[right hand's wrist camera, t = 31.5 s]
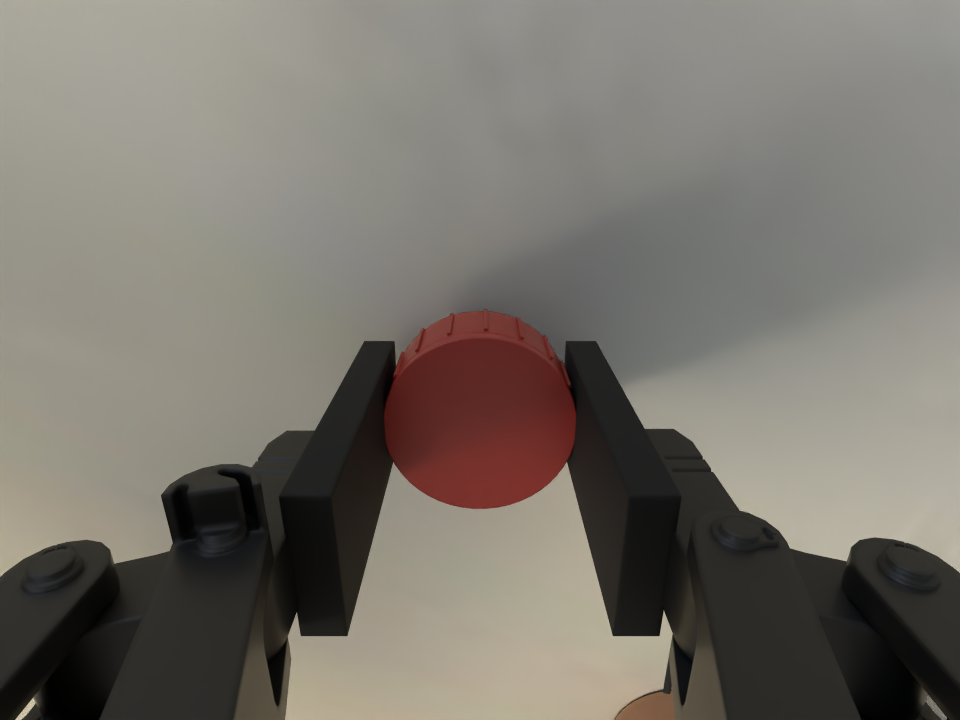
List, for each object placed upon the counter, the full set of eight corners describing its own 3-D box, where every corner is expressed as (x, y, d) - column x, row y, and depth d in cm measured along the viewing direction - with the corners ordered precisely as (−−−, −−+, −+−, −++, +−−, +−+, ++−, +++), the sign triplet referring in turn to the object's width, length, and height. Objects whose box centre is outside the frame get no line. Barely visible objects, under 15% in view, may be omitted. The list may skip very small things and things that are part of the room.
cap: (457, 492, 16) (454, 540, 14) (357, 369, 14) (338, 404, 12) (597, 413, 15) (614, 453, 13) (505, 273, 13) (509, 295, 12)
